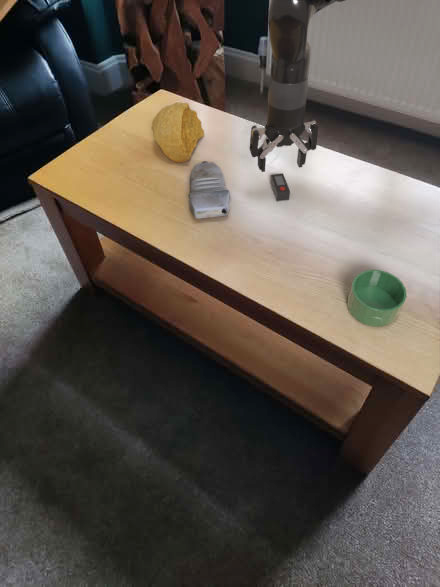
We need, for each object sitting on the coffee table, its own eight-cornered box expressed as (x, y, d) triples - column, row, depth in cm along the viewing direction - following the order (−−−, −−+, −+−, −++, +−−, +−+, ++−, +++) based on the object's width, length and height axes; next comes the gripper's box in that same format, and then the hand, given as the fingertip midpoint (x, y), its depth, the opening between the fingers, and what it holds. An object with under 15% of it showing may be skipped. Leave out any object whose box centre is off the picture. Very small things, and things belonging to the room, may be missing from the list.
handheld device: (223, 165, 110) (223, 150, 106) (233, 220, 97) (233, 204, 94) (186, 169, 109) (184, 153, 106) (191, 224, 97) (189, 208, 93)
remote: (270, 182, 105) (270, 173, 103) (282, 181, 105) (283, 172, 103) (276, 201, 100) (277, 192, 98) (289, 199, 101) (290, 191, 99)
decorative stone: (132, 143, 113) (152, 116, 100) (162, 109, 119) (185, 78, 106) (169, 178, 117) (194, 156, 104) (197, 143, 123) (223, 117, 110)
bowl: (387, 283, 84) (394, 266, 80) (406, 322, 79) (415, 306, 75) (340, 290, 84) (345, 273, 80) (356, 330, 78) (362, 314, 74)
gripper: (255, 112, 82) (253, 181, 95) (328, 104, 83) (316, 173, 95) (248, 92, 86) (247, 161, 99) (317, 84, 87) (307, 154, 100)
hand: (281, 167), depth 97 cm, fingers open, 8 cm apart
